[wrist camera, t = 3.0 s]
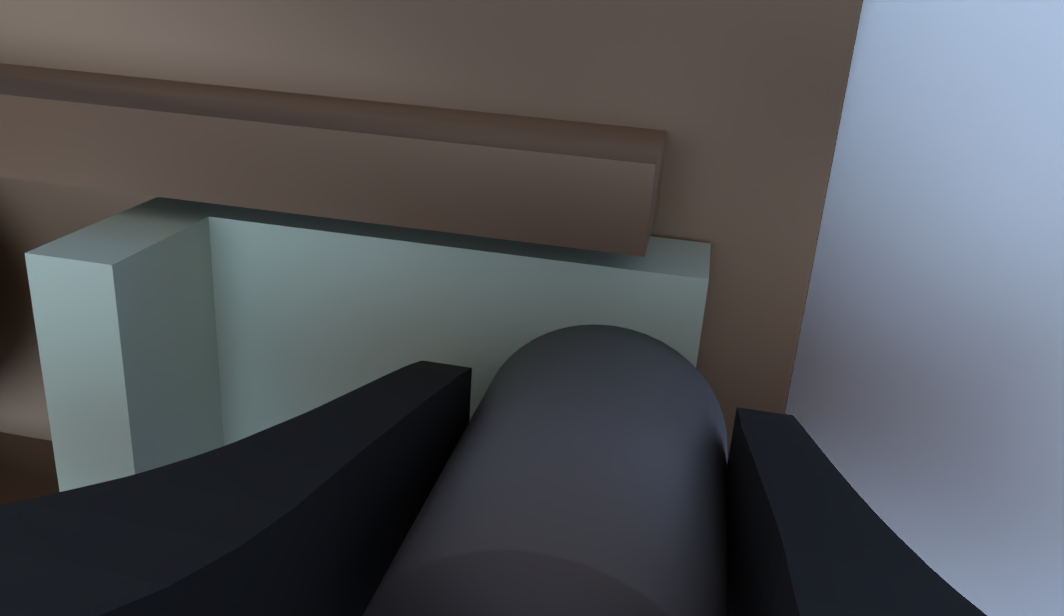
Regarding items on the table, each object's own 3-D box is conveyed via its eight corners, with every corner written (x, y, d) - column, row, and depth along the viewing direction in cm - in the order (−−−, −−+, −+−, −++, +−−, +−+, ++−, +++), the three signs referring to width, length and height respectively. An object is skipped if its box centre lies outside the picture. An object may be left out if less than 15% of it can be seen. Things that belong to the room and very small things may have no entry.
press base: (725, 675, 15) (725, 833, 12) (-369, 464, 19) (-559, 552, 16) (857, -32, 11) (900, -28, 8) (-575, -134, 15) (-879, -155, 12)
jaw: (703, 543, 13) (687, 950, 8) (213, 460, 14) (-94, 762, 9) (751, 248, 11) (773, 503, 6) (194, 182, 13) (-200, 347, 7)
